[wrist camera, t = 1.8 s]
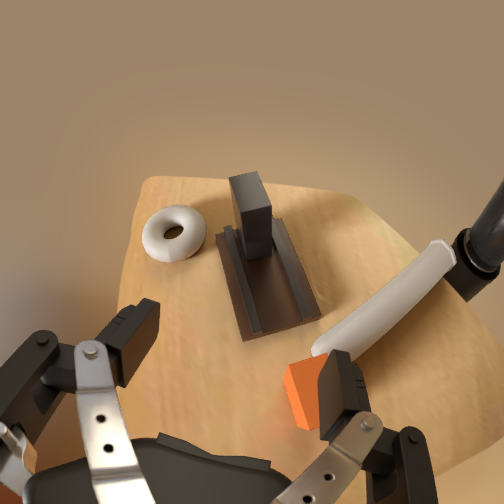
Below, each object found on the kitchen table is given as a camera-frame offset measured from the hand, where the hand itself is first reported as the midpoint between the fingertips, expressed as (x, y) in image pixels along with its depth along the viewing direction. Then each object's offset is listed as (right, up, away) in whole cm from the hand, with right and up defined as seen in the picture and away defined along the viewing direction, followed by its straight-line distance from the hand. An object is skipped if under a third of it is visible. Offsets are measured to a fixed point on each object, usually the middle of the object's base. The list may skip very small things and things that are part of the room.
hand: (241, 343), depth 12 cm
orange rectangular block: (+6, -13, +17) cm, 22 cm away
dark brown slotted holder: (+2, +1, +26) cm, 26 cm away
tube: (+18, -4, +22) cm, 29 cm away
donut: (-11, +6, +31) cm, 33 cm away
